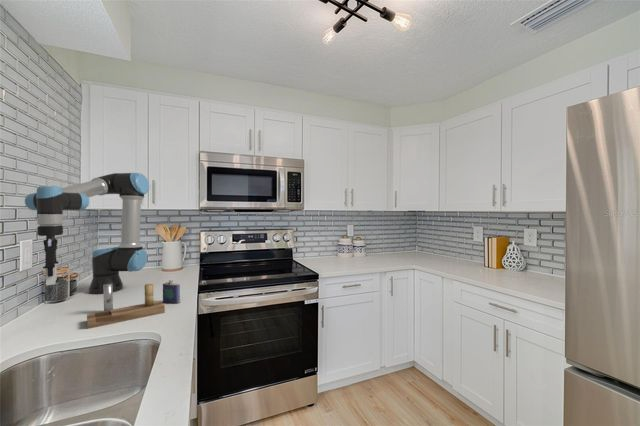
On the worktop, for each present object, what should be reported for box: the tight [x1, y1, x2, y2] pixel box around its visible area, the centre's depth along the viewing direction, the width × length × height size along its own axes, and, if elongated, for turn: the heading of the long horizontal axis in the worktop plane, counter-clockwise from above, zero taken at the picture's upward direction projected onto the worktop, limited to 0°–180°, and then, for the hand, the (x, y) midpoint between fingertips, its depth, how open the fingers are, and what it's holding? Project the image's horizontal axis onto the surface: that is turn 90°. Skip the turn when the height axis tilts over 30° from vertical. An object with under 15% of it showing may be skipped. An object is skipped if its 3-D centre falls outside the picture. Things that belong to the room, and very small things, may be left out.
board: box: [86, 283, 166, 329], centre depth 122 cm, size 9×26×12 cm, turn 130°
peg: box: [103, 284, 114, 311], centre depth 128 cm, size 3×3×12 cm
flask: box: [162, 280, 181, 305], centre depth 140 cm, size 9×3×11 cm, turn 74°
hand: (51, 282), depth 117 cm, fingers open, 8 cm apart
